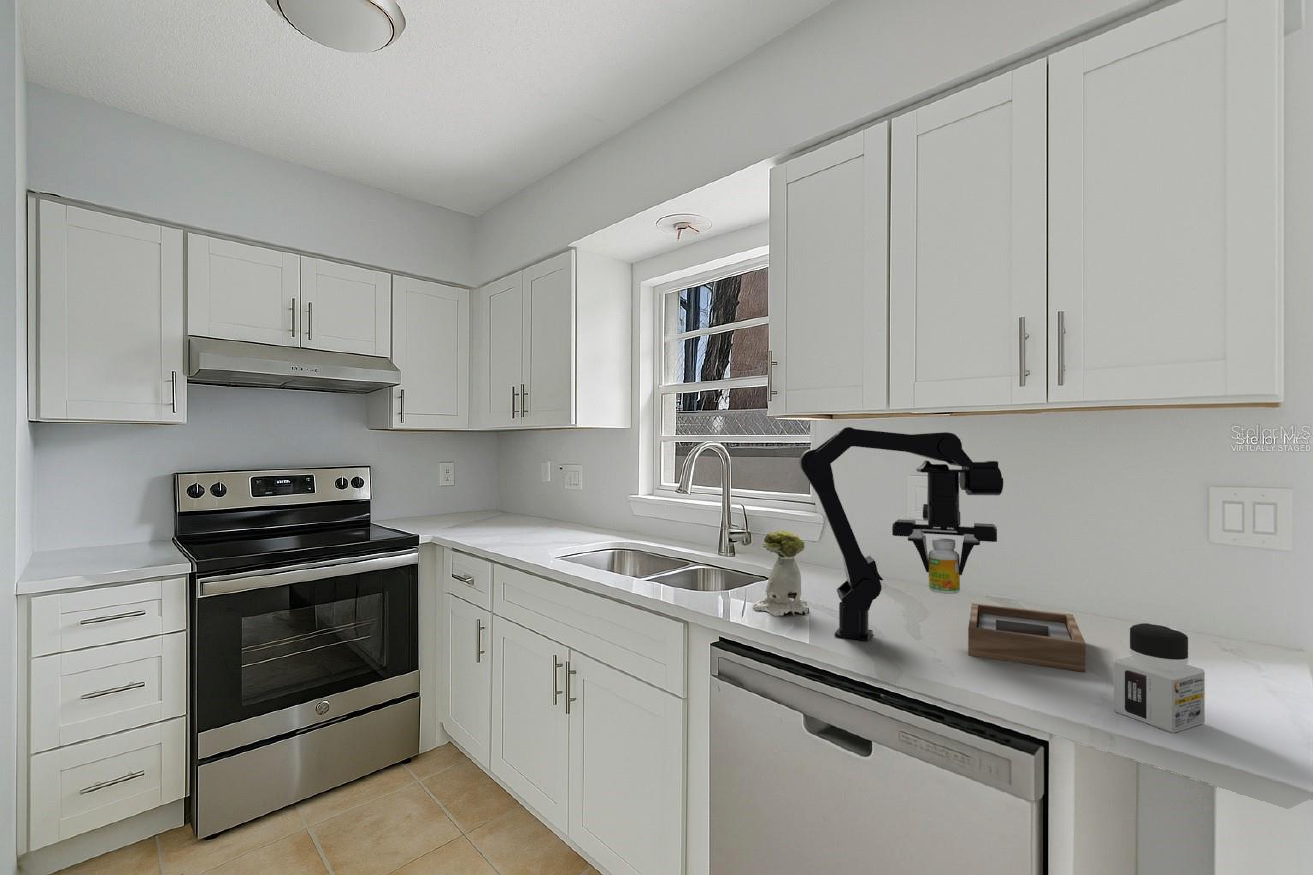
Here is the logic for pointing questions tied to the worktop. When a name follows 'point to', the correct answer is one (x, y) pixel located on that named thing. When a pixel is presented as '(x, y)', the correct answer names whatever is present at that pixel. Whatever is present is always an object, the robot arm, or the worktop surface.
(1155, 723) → the container
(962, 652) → the worktop surface
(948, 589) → the supplement bottle
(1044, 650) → the tray
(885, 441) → the robot arm
